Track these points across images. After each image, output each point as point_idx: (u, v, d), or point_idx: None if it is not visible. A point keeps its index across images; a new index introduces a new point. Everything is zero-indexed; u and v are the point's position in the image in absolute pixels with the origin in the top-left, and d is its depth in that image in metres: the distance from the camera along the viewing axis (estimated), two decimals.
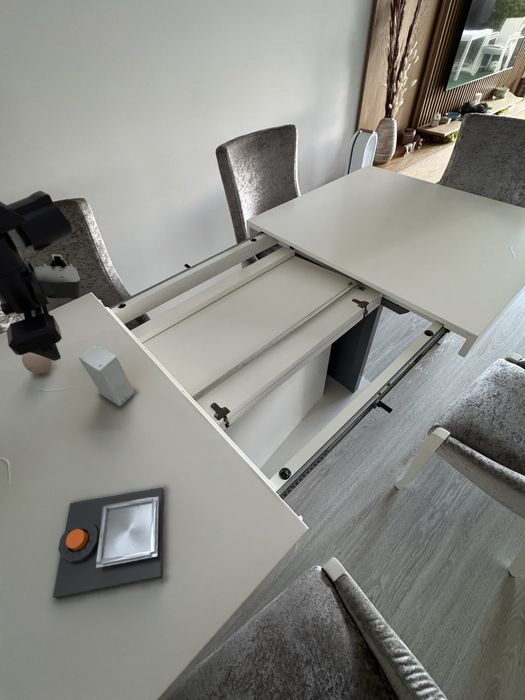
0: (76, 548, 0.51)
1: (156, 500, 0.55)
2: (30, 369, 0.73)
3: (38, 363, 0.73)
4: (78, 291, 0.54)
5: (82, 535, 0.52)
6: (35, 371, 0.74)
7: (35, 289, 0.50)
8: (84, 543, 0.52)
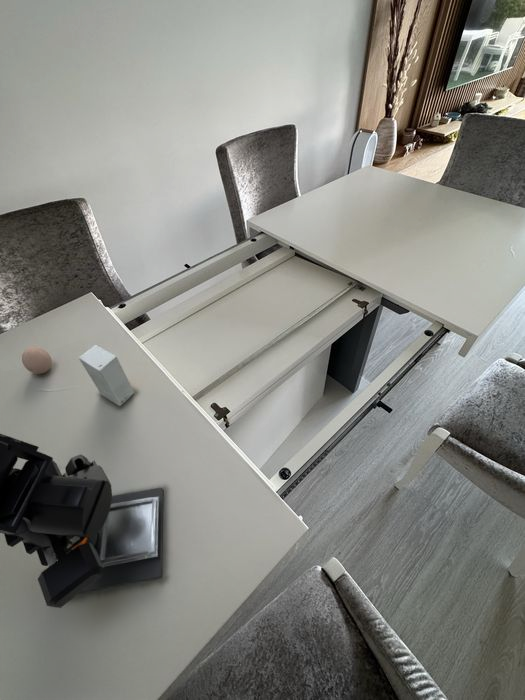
0: None
1: (156, 500, 0.55)
2: (30, 369, 0.73)
3: (38, 363, 0.73)
4: None
5: None
6: (35, 371, 0.74)
7: None
8: None
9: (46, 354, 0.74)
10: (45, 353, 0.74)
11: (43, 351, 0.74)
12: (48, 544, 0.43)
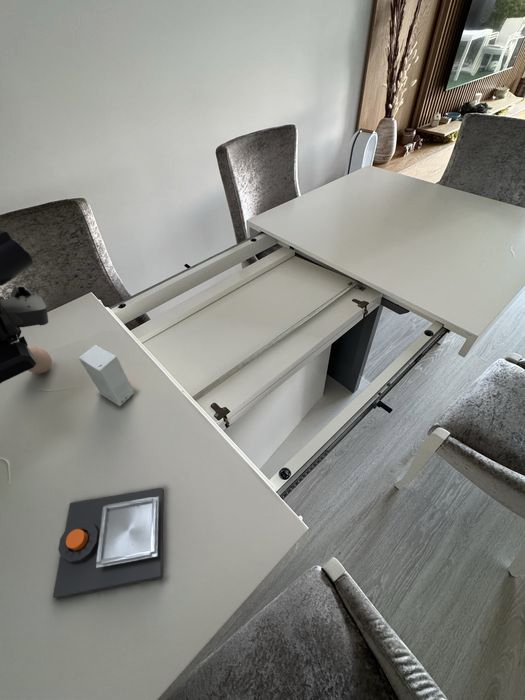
0: (76, 548, 0.51)
1: (156, 500, 0.55)
2: (30, 369, 0.73)
3: (38, 363, 0.73)
4: (46, 317, 0.58)
5: (82, 535, 0.52)
6: (35, 371, 0.74)
7: (5, 321, 0.54)
8: (84, 543, 0.52)
9: (46, 354, 0.74)
10: (45, 353, 0.74)
11: (43, 351, 0.74)
12: None
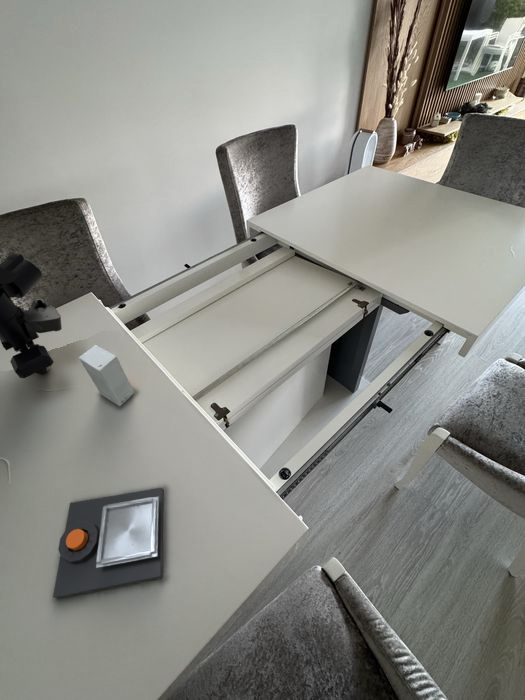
0: (76, 548, 0.51)
1: (156, 500, 0.55)
2: None
3: None
4: (60, 325, 0.71)
5: (82, 535, 0.52)
6: None
7: (28, 328, 0.67)
8: (84, 543, 0.52)
9: None
10: None
11: None
12: (17, 345, 0.67)
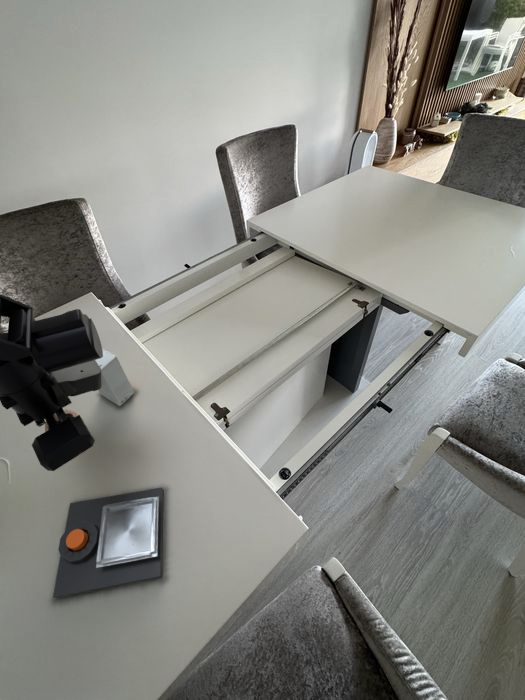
0: (76, 548, 0.51)
1: (156, 500, 0.55)
2: None
3: None
4: (100, 382, 0.49)
5: (82, 535, 0.52)
6: None
7: (57, 392, 0.45)
8: (84, 543, 0.52)
9: None
10: None
11: (74, 416, 0.52)
12: (41, 418, 0.45)
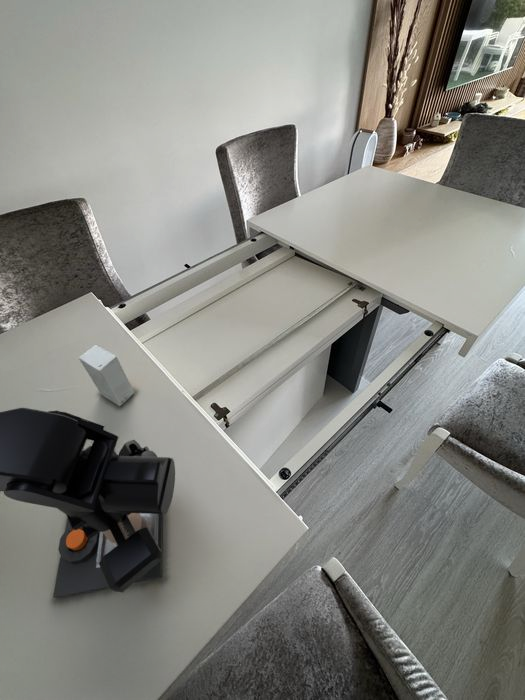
0: (76, 548, 0.51)
1: None
2: (115, 542, 0.49)
3: None
4: None
5: (82, 535, 0.52)
6: None
7: None
8: (84, 543, 0.52)
9: (137, 515, 0.50)
10: (135, 514, 0.50)
11: None
12: (106, 529, 0.43)
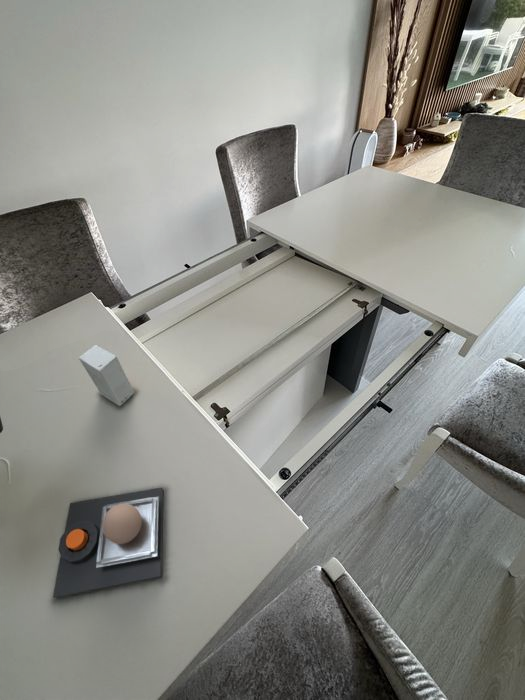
0: (76, 548, 0.51)
1: (156, 500, 0.55)
2: (115, 542, 0.49)
3: (128, 534, 0.48)
4: None
5: (82, 535, 0.52)
6: (121, 543, 0.49)
7: None
8: (84, 543, 0.52)
9: (137, 515, 0.50)
10: (135, 514, 0.50)
11: (133, 512, 0.50)
12: None
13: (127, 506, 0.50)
